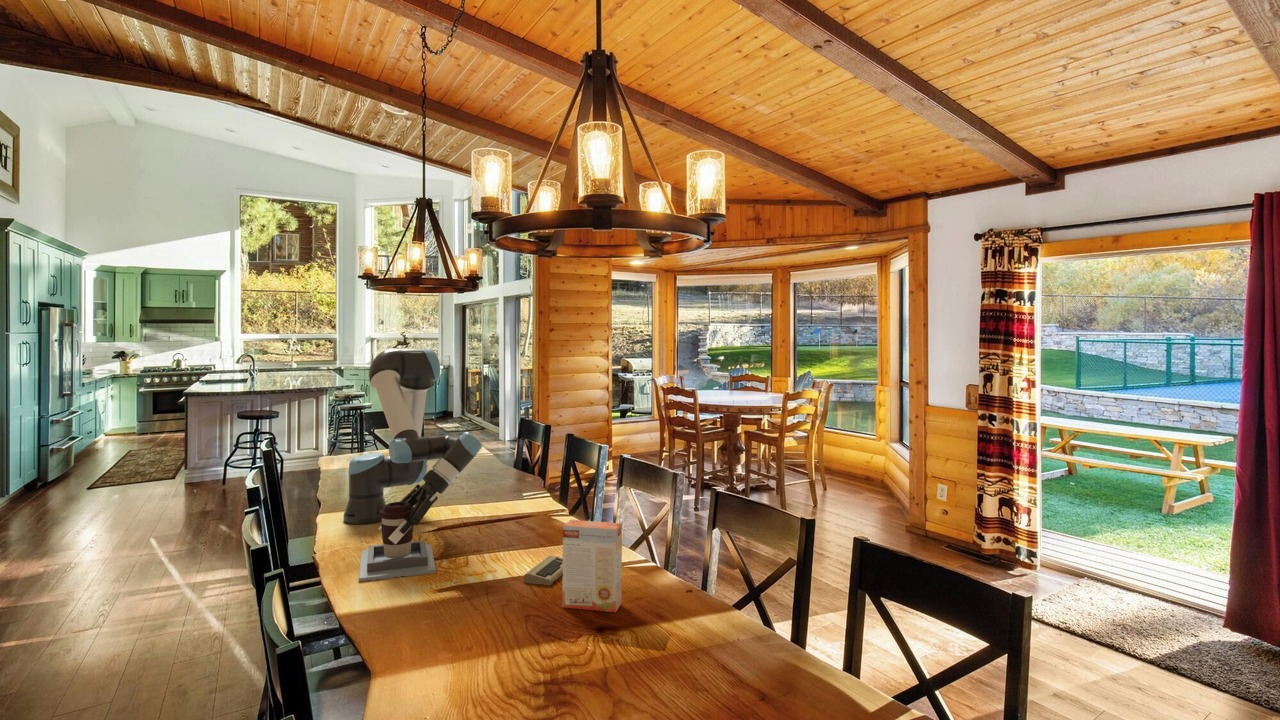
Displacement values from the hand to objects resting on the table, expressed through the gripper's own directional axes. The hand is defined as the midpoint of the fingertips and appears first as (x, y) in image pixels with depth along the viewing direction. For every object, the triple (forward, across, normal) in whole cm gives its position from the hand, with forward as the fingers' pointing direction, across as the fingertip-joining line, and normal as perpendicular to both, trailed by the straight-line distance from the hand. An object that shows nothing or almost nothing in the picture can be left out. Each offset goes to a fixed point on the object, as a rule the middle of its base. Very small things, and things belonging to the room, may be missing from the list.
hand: (386, 536), depth 184 cm
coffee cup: (+2, 0, -6) cm, 7 cm away
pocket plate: (+4, 0, -8) cm, 9 cm away
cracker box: (-18, -58, -30) cm, 68 cm away
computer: (-19, -33, -32) cm, 49 cm away
